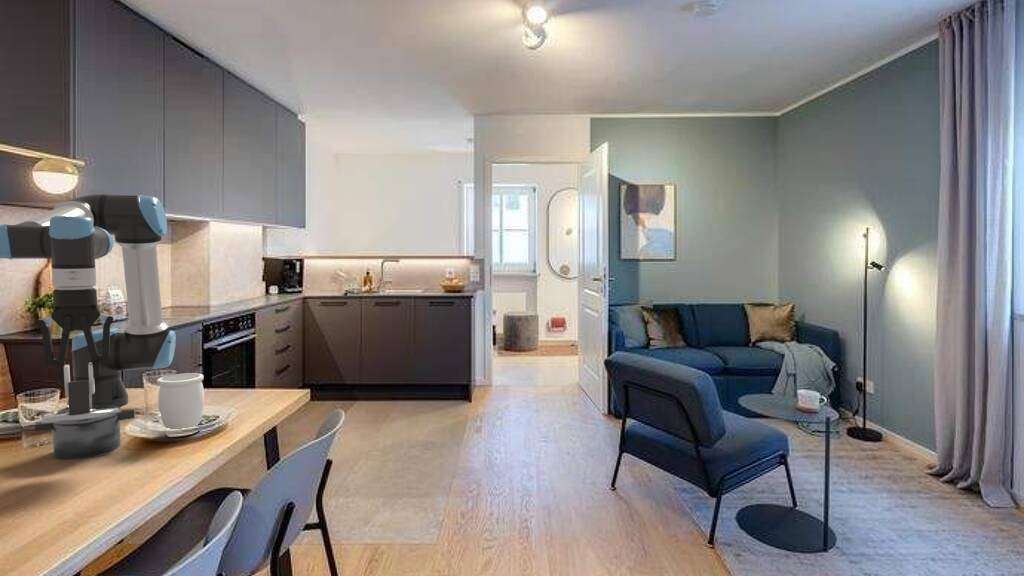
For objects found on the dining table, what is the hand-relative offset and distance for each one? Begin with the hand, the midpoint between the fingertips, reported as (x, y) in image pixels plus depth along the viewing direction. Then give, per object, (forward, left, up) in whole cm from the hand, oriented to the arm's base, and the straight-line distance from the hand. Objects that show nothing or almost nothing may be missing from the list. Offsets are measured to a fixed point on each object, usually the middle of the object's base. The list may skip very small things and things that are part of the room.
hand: (80, 393), depth 123 cm
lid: (+1, 0, -5) cm, 5 cm away
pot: (-14, 0, -17) cm, 22 cm away
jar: (-16, +20, -17) cm, 31 cm away
